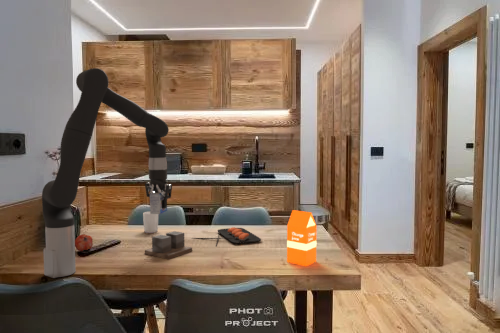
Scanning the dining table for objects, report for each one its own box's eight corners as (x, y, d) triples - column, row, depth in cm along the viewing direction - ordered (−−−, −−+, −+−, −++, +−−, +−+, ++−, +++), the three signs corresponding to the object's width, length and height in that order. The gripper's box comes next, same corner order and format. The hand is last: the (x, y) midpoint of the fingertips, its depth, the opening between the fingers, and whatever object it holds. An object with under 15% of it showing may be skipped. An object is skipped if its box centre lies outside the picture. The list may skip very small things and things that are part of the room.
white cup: (140, 232, 200) (139, 213, 199) (148, 229, 207) (148, 211, 207) (153, 233, 197) (153, 214, 197) (161, 230, 205) (161, 211, 204)
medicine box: (159, 214, 159) (159, 193, 159) (149, 214, 160) (149, 193, 160) (167, 210, 167) (167, 191, 167) (157, 210, 168) (157, 191, 167)
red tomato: (72, 255, 166) (73, 246, 159) (74, 240, 170) (75, 230, 163) (91, 255, 169) (93, 246, 162) (92, 240, 173) (94, 230, 166)
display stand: (192, 251, 165) (192, 233, 165) (168, 259, 154) (168, 240, 153) (168, 246, 173) (168, 229, 173) (144, 253, 161) (144, 236, 161)
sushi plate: (263, 243, 179) (263, 235, 179) (200, 250, 168) (200, 241, 168) (241, 230, 206) (241, 223, 206) (186, 235, 195) (186, 228, 195)
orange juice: (297, 257, 156) (297, 208, 155) (316, 261, 151) (317, 211, 149) (286, 262, 150) (286, 211, 149) (306, 266, 145) (306, 214, 143)
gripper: (139, 168, 163) (140, 207, 164) (163, 169, 155) (164, 210, 157) (152, 167, 169) (153, 205, 171) (176, 168, 162) (177, 207, 163)
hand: (158, 207), depth 164 cm, fingers closed on medicine box, 5 cm apart
